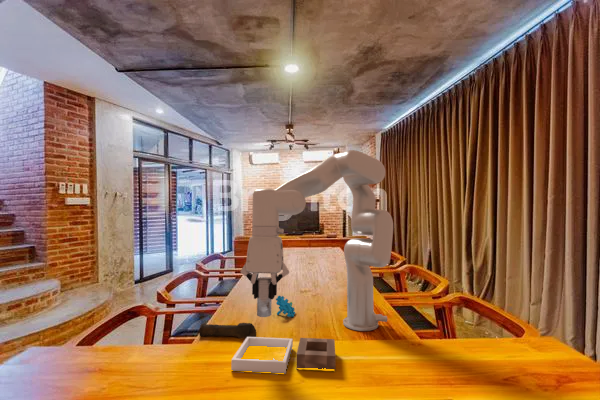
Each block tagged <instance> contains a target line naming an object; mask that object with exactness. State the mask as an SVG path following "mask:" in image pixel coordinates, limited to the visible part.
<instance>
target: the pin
mask: <svg viewBox="0 0 600 400" xmlns="http://www.w3.org/2000/svg"><path fill="white" fill-rule="evenodd" d="M271 284H272V278H271V276H258V283H257V298H256V316H257V317H259V318H267V317H270V316H272V300H273V299H270V285H271Z"/></svg>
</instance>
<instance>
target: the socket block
mask: <svg viewBox="0 0 600 400" xmlns="http://www.w3.org/2000/svg"><path fill="white" fill-rule="evenodd" d="M335 343H336V342H335V339H333V338H315V337H313V338H312V337H300V338H299V342H298V345H297V350H296V369H297V368H318V369H322V368H323V369H324V368H326V369H335V370H336V344H335Z"/></svg>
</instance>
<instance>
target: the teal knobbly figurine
mask: <svg viewBox="0 0 600 400" xmlns="http://www.w3.org/2000/svg"><path fill="white" fill-rule="evenodd" d="M275 300H276V302H275V303H276V305H277V306H278V309H279V310H278V311H277V312H276V315H277V316H279V315H280V314H283V315H286V317H288V318H293V317H295V314H296V312H295V310H296V309H295V308H294V306H293V302H292V301H289V299H288V298H285V297H284V296H283V295H277V298H275Z"/></svg>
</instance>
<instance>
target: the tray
mask: <svg viewBox="0 0 600 400" xmlns="http://www.w3.org/2000/svg"><path fill="white" fill-rule="evenodd" d="M293 340H294V339H293V338H288V337H287V338H283V337H282V338H281V337H262V336H261V337H260V336H258V337H257V336H256V337H247V338H244V340H243V342H242V343H241V345H240V347H239V348H238V349H237V351H236V352H235V353H234V355H233V357H232V358H231V363H230V365H231V370H233V371H252V372H271V373H284V374H286V375H287V371H286V369H287V370H288V368H287V365H288V366H289V364H288V362H289V363H290V360H289V358H290V359H291V357H290V354H291V355H292V353H291V350H292V351H293V349H292V347H293ZM249 346H267V347H285V348H286V347H287V349H286V353H285V356H284V359H283V361H278V360H275V359H274V358H273V360H259V359H241V358H242V357H243V355H244V353H245V352H246V350H247V348H248V347H249Z"/></svg>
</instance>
